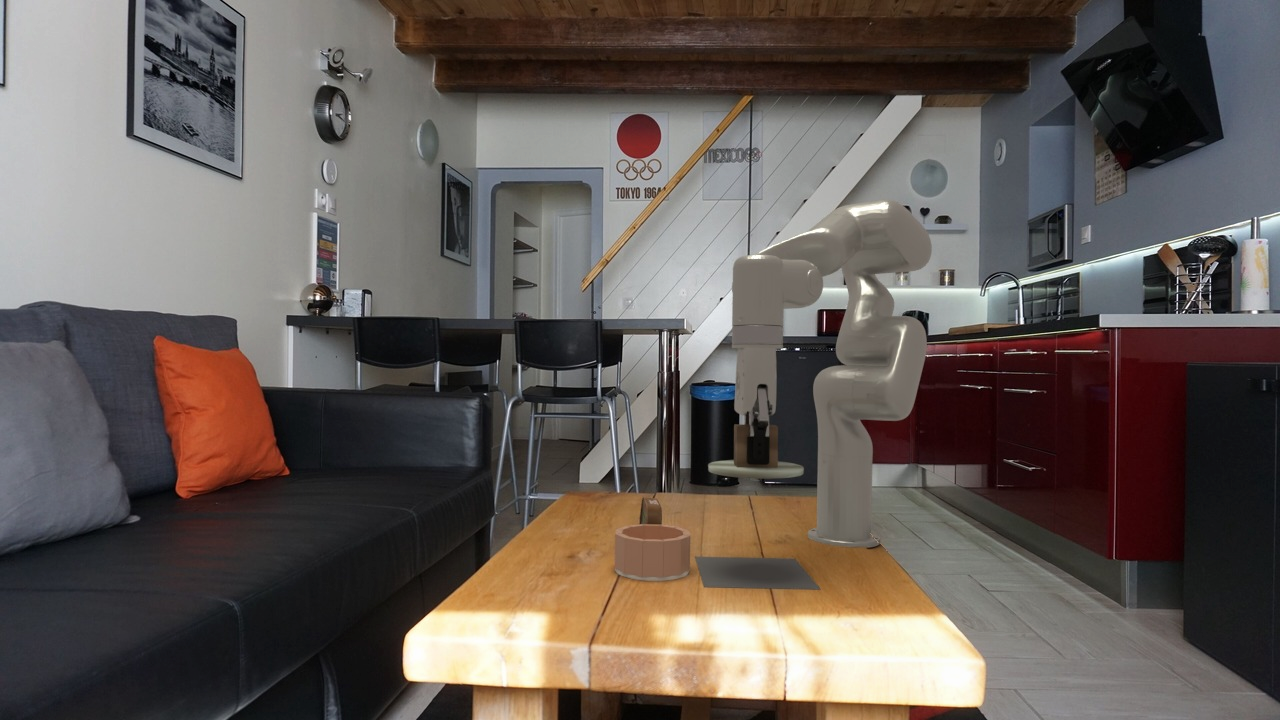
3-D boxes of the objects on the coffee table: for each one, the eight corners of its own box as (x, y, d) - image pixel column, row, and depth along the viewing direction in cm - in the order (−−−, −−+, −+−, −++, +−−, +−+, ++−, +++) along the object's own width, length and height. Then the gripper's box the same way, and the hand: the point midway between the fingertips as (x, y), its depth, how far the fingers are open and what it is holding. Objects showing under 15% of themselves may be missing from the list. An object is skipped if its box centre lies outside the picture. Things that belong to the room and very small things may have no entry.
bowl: (616, 562, 111) (616, 523, 111) (686, 563, 111) (687, 525, 111) (613, 583, 100) (614, 540, 100) (691, 584, 100) (692, 541, 100)
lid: (704, 464, 113) (704, 421, 113) (792, 465, 113) (792, 422, 113) (713, 478, 99) (713, 429, 99) (813, 479, 99) (814, 430, 99)
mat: (694, 559, 113) (695, 556, 113) (795, 561, 113) (795, 558, 113) (703, 590, 97) (704, 586, 97) (820, 592, 97) (820, 589, 97)
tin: (637, 540, 126) (638, 492, 126) (655, 540, 126) (656, 492, 126) (642, 562, 111) (643, 508, 111) (662, 563, 111) (663, 509, 111)
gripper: (725, 340, 114) (724, 455, 114) (739, 336, 98) (738, 470, 97) (772, 341, 114) (770, 456, 114) (794, 337, 98) (792, 470, 97)
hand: (755, 461), depth 106 cm, fingers closed on lid, 3 cm apart
